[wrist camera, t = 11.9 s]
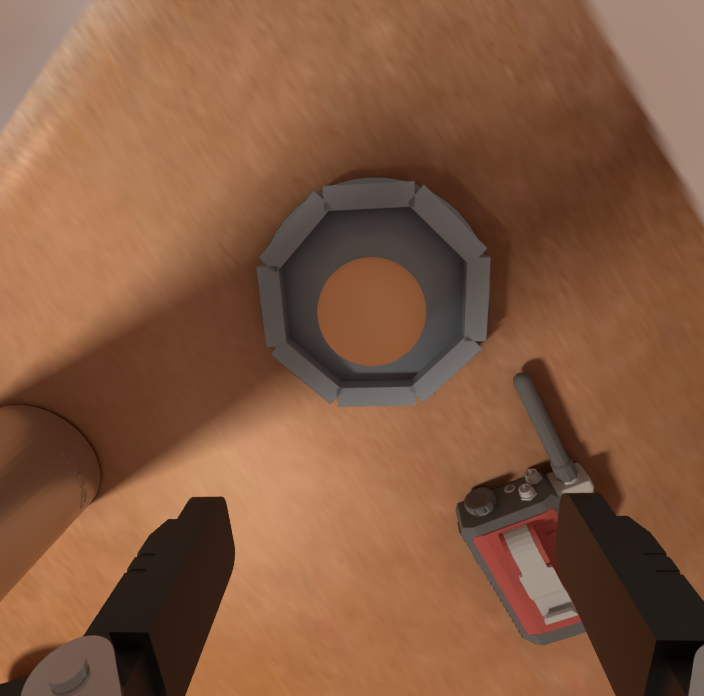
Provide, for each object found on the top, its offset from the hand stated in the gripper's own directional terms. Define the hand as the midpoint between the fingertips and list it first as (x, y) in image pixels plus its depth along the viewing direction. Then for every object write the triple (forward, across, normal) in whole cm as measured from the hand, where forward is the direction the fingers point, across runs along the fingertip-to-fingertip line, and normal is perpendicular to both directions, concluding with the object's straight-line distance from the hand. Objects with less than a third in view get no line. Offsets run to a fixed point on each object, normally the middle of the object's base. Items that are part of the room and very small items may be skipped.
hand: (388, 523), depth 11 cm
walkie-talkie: (+17, -9, +14) cm, 24 cm away
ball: (+13, +1, -2) cm, 14 cm away
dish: (+17, 0, -2) cm, 17 cm away
